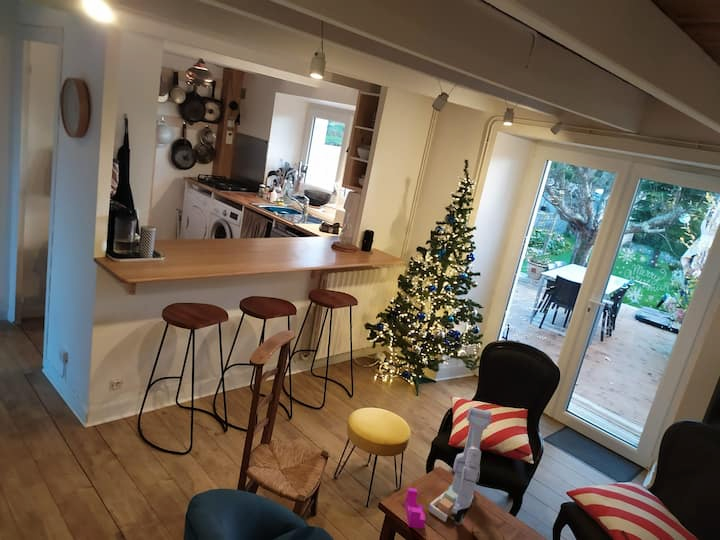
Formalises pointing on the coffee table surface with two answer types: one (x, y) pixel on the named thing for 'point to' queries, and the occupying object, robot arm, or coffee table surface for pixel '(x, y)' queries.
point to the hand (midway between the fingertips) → (458, 519)
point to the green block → (450, 496)
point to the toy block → (414, 510)
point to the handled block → (447, 508)
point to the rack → (435, 510)
